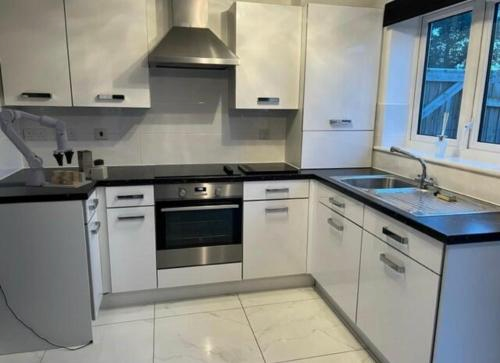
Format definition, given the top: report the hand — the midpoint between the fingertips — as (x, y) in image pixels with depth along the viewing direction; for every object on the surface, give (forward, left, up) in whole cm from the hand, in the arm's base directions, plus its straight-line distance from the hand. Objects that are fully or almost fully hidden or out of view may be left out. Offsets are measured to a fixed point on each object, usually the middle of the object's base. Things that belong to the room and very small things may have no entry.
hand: (65, 164), depth 214 cm
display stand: (+5, -6, -10) cm, 13 cm away
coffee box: (0, +20, -10) cm, 22 cm away
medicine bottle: (+14, +12, -10) cm, 21 cm away
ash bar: (+5, -8, -7) cm, 12 cm away
